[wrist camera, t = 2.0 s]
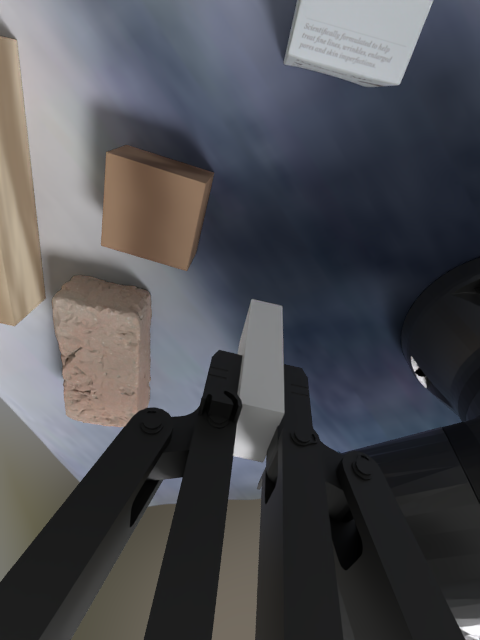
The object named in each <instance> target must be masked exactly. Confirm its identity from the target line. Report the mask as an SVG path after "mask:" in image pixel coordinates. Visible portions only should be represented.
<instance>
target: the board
mask: <svg viewBox="0 0 480 640" xmlns="http://www.w3.org/2000/svg"><path fill="white" fill-rule="evenodd" d="M45 299H46V296H45V287H44V278H43V269H42V260H41V251H40V242H39V234H38V225H37V216H36V207H35V198H34V189H33V180H32V171H31V162H30V153H29V144H28V135H27V126H26V117H25V108H24V100H23V91H22V82H21V73H20V64H19V55H18V46H17V40H15V39H11V38H7V37H3V36H0V323H3V324H7V325H12V326H16V325H17V324H18V323H19V322H20V321H21V320H22V319H23V318H25V317H26V316H27V315H28V314H29V313H30V312H31V311H32V310H33V309H35V308H36V307H37V306H38V305H39V304H40V303H41V302H42V301H44V300H45Z"/></svg>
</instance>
